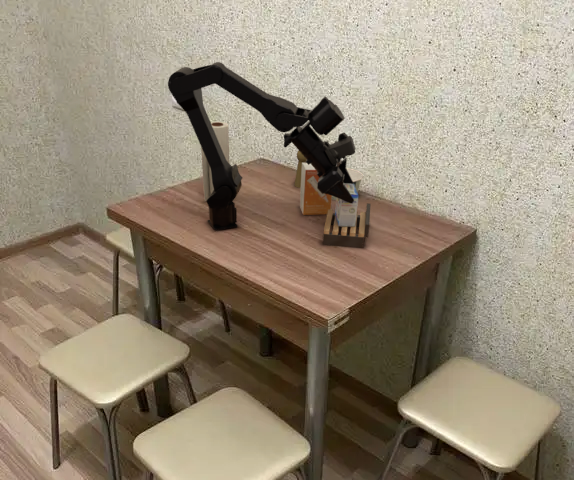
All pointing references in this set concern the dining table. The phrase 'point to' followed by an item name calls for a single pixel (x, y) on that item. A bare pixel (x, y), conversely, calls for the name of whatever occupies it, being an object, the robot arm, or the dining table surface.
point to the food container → (354, 178)
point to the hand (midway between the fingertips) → (353, 195)
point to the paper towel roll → (223, 140)
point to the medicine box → (347, 208)
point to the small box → (312, 193)
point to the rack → (343, 237)
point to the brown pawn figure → (299, 169)
